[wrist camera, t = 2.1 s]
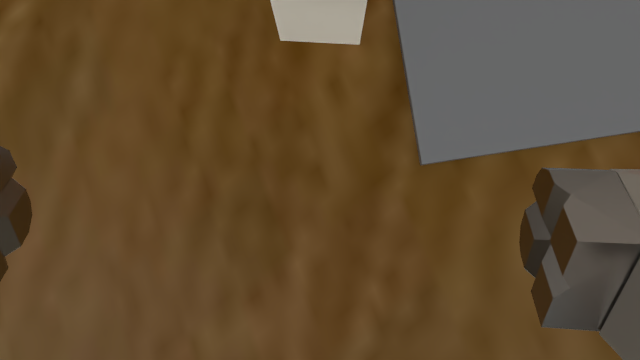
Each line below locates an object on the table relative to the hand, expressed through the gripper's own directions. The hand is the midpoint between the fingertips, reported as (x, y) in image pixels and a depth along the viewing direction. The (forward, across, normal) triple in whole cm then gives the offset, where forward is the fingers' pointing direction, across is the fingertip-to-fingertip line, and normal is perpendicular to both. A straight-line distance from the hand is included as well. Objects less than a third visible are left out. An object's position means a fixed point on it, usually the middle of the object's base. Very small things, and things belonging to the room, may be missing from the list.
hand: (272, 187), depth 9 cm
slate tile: (+25, -12, +9) cm, 29 cm away
